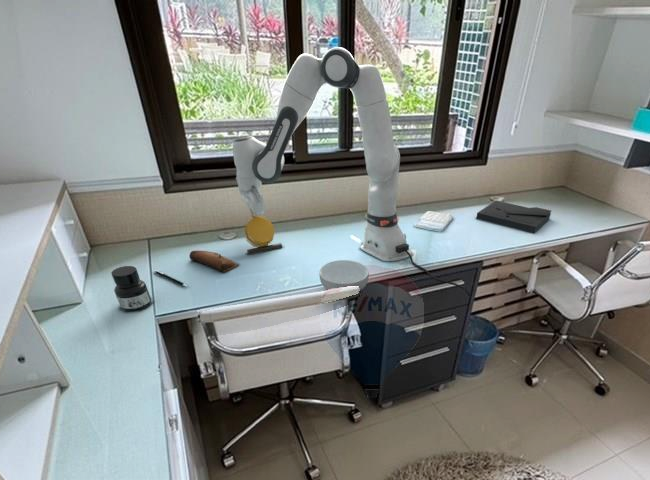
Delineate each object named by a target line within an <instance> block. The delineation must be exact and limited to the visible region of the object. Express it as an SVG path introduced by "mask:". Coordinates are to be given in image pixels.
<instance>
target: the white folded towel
mask: <svg viewBox="0 0 650 480" xmlns="http://www.w3.org/2000/svg"><path fill="white" fill-rule="evenodd" d="M453 219H454V216H453V214H449V213H443V212H437V211H431V210H427V211H426V212H425V213H424V214H423V215H421V217H420V218H419V219H418V220H417V221H416V222H415V223H414V227H415V228H416V229H417V228H418V229H423V230H428V231H434V232H438V233H439V232H443V231H444V230H445V229H446V227H447V226H448V225H449V223H451V221H452V220H453Z"/></svg>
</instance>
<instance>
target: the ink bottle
mask: <svg viewBox="0 0 650 480" xmlns="http://www.w3.org/2000/svg"><path fill="white" fill-rule="evenodd" d="M111 276H112V279H113V281H114V283H115V287H114V294H115V296H116V299H117V301H118V304H119V307H120V308H121V310H123V311H126V312H135V311H140V310H143V309H145V308H147V307H149V306H150V305H151V303H152V298H151V294H150V292H149V289H148V286H147V283H146V282H145V281H143V280H142V279H141V278H140V275H139V272H138V269H137V267H135V266H133V265H124V266H123V265H122V266H119V267H117V268H114V269H113V270H112V271H111Z"/></svg>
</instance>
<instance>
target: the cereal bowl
mask: <svg viewBox="0 0 650 480" xmlns="http://www.w3.org/2000/svg"><path fill="white" fill-rule="evenodd" d="M318 275H319V281H320V283H321V286H323V287H324V289H325V290H327V289H331V288H339V287H347V286H359V288H360V291H362V290H363V289H365V287H366V286H367V284H368V283H369V277H370V270H369V268H368V266H366V265H365V264H363V263H361V262H358V261H355V260H348V259H347V260H346V259H342V260H341V259H340V260H334V261H333V260H332V261H329V262H327V263H325V264H324V265H322V266H321V268H319V272H318ZM342 282H343V283H342Z"/></svg>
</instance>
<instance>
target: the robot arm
mask: <svg viewBox="0 0 650 480" xmlns="http://www.w3.org/2000/svg"><path fill="white" fill-rule="evenodd" d="M325 85H329V86H331V87H333V88H337V89H349V90H350V91H351V93H352V96H353V99H354V103H355V108H356V114H357V117H358V121H359V125H360V131H361V137H362V147H363V154H364V155H363V156H364V161H365V168H366V173H367V175H368V177H369V185H368V190H367V191H368V192H367V195H368V196H367V211H366V222H367V223H366V225H365V227H364V230H363V240H362V245H360V250H361V251H363V252H365V253H367V254H369V255H370V256H373V257H374V258H377V259H378V260H380V261H382V262H395V261H401V260H404V259H407V258H409V261H410V262H411V264H412V265H413V266H414V267H417V268H418V269H420V270H422V271H424V272H425V273H426V274H427V275H428V276H429V277H430V278H432V279H433V280H435V281H437V282H440V283H444V284H449V285H453V286H455V287H458V288H460V289H463V290H464V291H465V292H466V294H467V296H468V297H471V296H472V295H471V293H470V291H469V290H468V288H467V287H465V286H463V285H461V284H458V283H456V282H453V281H447V280H443V279H439V278H437V277H435V276H433V274H431V273H430V271H428V270H427V269H426V268H425V267H422V266H420V265H418V264H416V263H415V261H414V260H413V258H412V255H413V251H412V250H411V249H410V244H409V243H407V234H406V233H404V232H403V231H402V229H401V227H400V226H399V224H398V223H399V219H400V218H399V217H398V214H397V212H396V211H397V209H396V208H397V196H398V195H397V194H398V184H399V175H400V163H401V154H400V150H399V148H398V147H397V145H396V144H395V143H394V134H393V133H394V132H393V122H392V116H391V112H390V111H391V110H390V106H389V100H388V96H387V91H386V87H385V84H384V81H383V77H382V75H381V72H380V70H379V68H378V67H377V66H376V65H373V64H363V65H359V64H358V62H356V61H355V58H354V57H353V55H352V54H351V52H350V51H348V50H347V49H346V48H344V47H340V46H335V47H331V48H330V49H327V51H326V52H325V53H324V54H323V55H322V57H321V58H318V57H316V56H314V55H313V54H310V53H302V54H300V55H299V56H298V57H297V58H296V60H295V61H294V63H293V64H292V66H291V68H290V70H289V72H288V74H287V75H286V79H285V81H284V83H283V86H282V89H281V93H280V96H279V102H278V107H277V112H276V119H275V122H274V125H273V127H272V130H271V133H270V135H269V138H268V140H267V142H266V143H264V142H262V141H261V140H258V139H256V138H255V137H254V136H253V135H243V136H239V137H237V138H235V140H234V141H233V144H232V155H233V162H234V163H233V164H234V166H235V168H236V169H235V170H236V173H235V175H236V177H235V182H236V184H237V187H238V189H239V194H240V198H241V200H242V201H243V202H244V203H245V205H246V206H247V207H248V208H249V211H250V215H251V219H252V218H255V217H259V216H258V215H264V214H266V208H265V202H264V197H263V194H262V192H260V190H261V189H262V188H263V183H264V184H275V182H277V181H278V180H279V179H280V178H281V175H282V171H283V168H284V165H285V162H286V161H285V156H284V155H285V152H286V149H287V147H288V144H289V142H290V140H291V138H292V136H293V134H294V133H295V131H296V129H297V128H298V127H299V126H300V125H301V123H302V122H303V121H304V120H305V118H306V117H307V116H308V114H309V112H310V111H311V109H312V108H313V106H314V103H315V102H316V99H317V97H318V94H319V92H320V90H321V89H322V87H323V86H325ZM350 238H351V239H352V240H355V241H356V242H358V243H361V239H359V238H357V237H355V236H354V235H351V234H350Z"/></svg>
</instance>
